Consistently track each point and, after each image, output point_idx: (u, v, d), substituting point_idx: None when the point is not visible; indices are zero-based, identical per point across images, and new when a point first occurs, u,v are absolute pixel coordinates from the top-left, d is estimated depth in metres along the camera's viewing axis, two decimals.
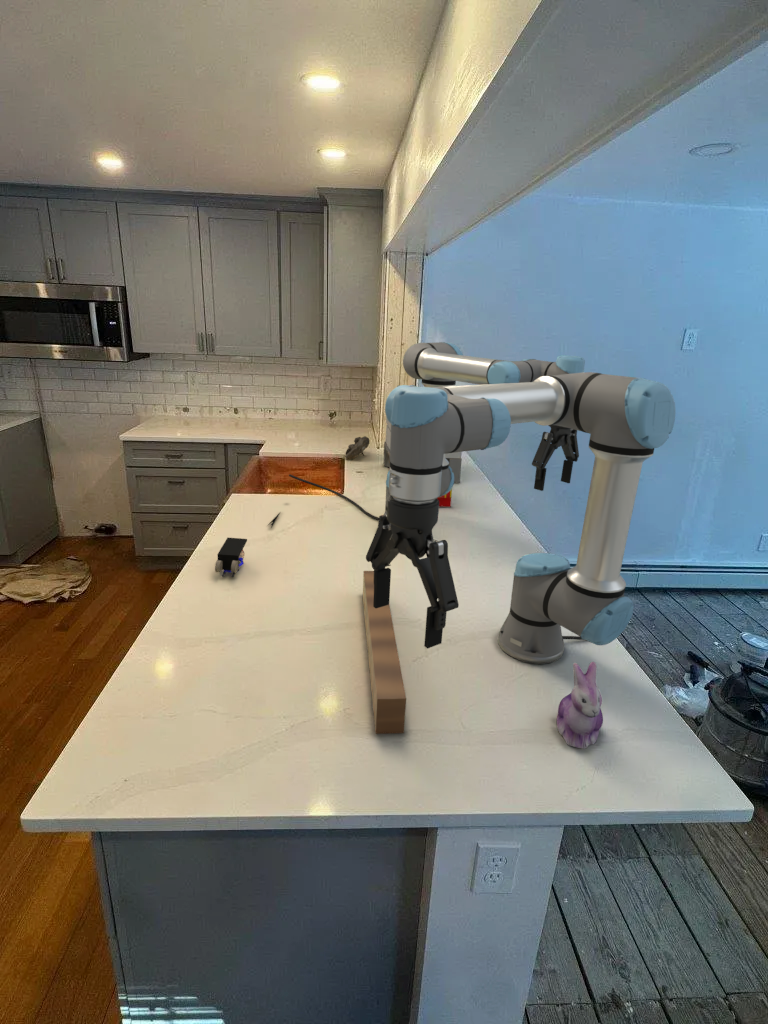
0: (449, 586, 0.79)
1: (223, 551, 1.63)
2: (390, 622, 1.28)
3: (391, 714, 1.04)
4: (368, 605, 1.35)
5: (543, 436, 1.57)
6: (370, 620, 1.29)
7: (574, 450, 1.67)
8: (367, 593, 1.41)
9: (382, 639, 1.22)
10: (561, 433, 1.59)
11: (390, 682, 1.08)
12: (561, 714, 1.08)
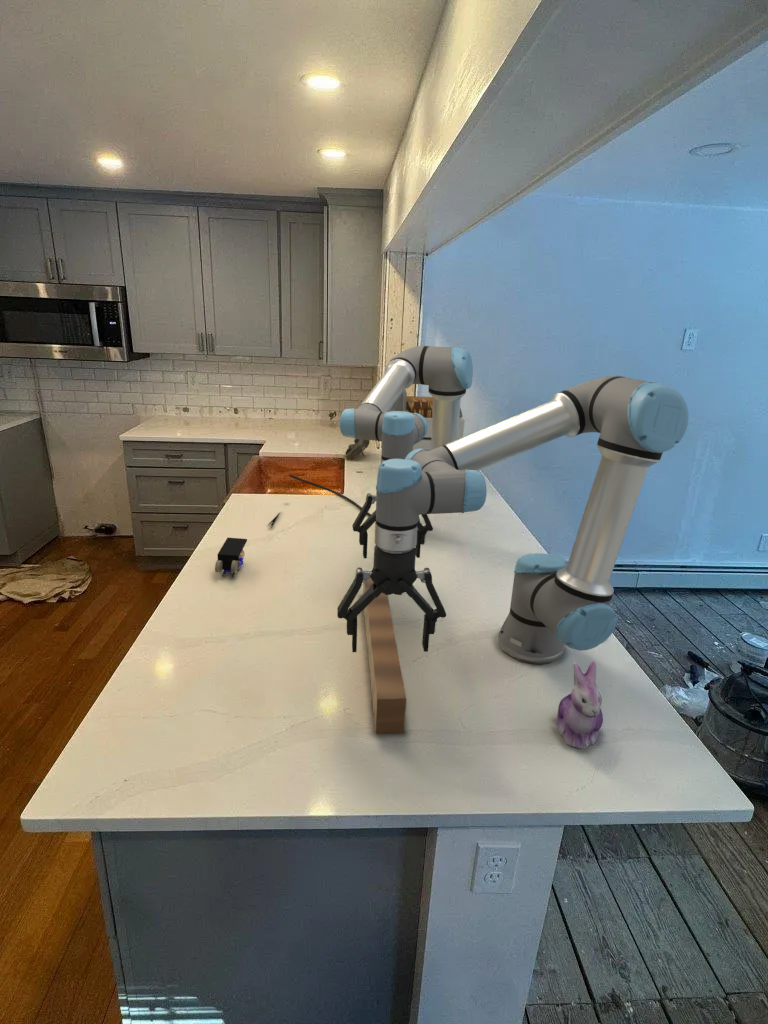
0: (439, 598, 1.06)
1: (223, 551, 1.63)
2: (390, 622, 1.28)
3: (391, 714, 1.04)
4: (368, 605, 1.35)
5: (366, 498, 1.40)
6: (370, 620, 1.29)
7: (424, 521, 1.42)
8: None
9: (382, 639, 1.22)
10: None
11: (390, 682, 1.08)
12: (561, 714, 1.08)
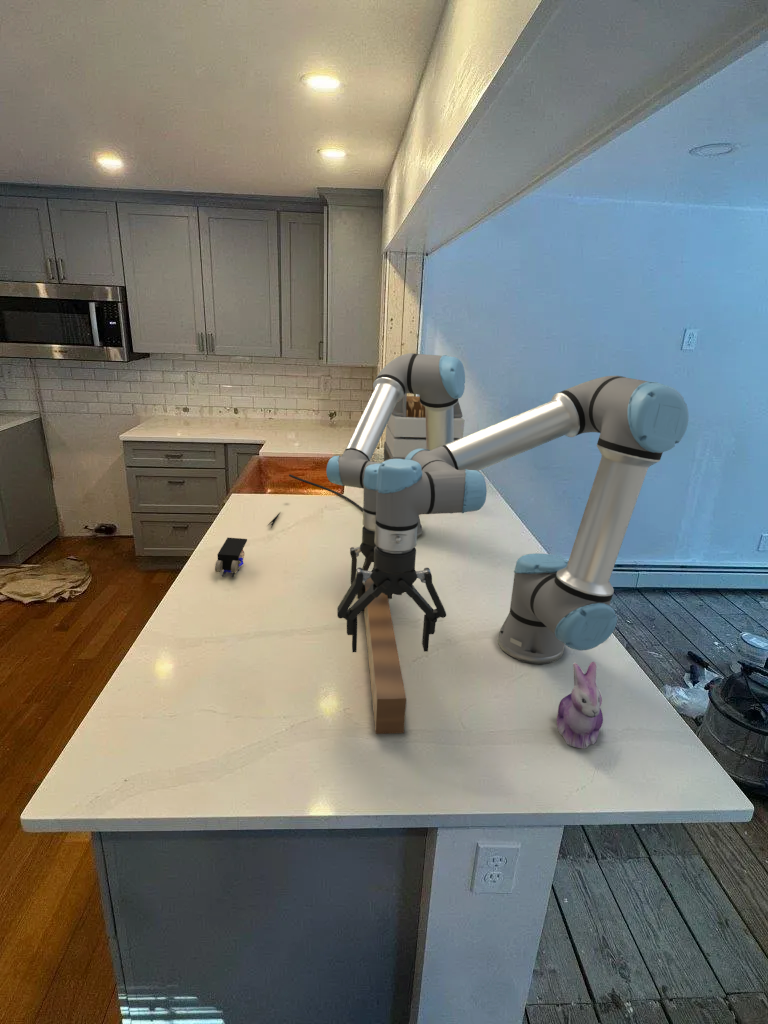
0: (439, 598, 1.06)
1: (223, 551, 1.63)
2: (390, 622, 1.28)
3: (391, 714, 1.04)
4: (368, 605, 1.35)
5: None
6: (370, 620, 1.29)
7: None
8: None
9: (382, 639, 1.22)
10: (372, 548, 1.41)
11: (390, 682, 1.08)
12: (561, 714, 1.08)
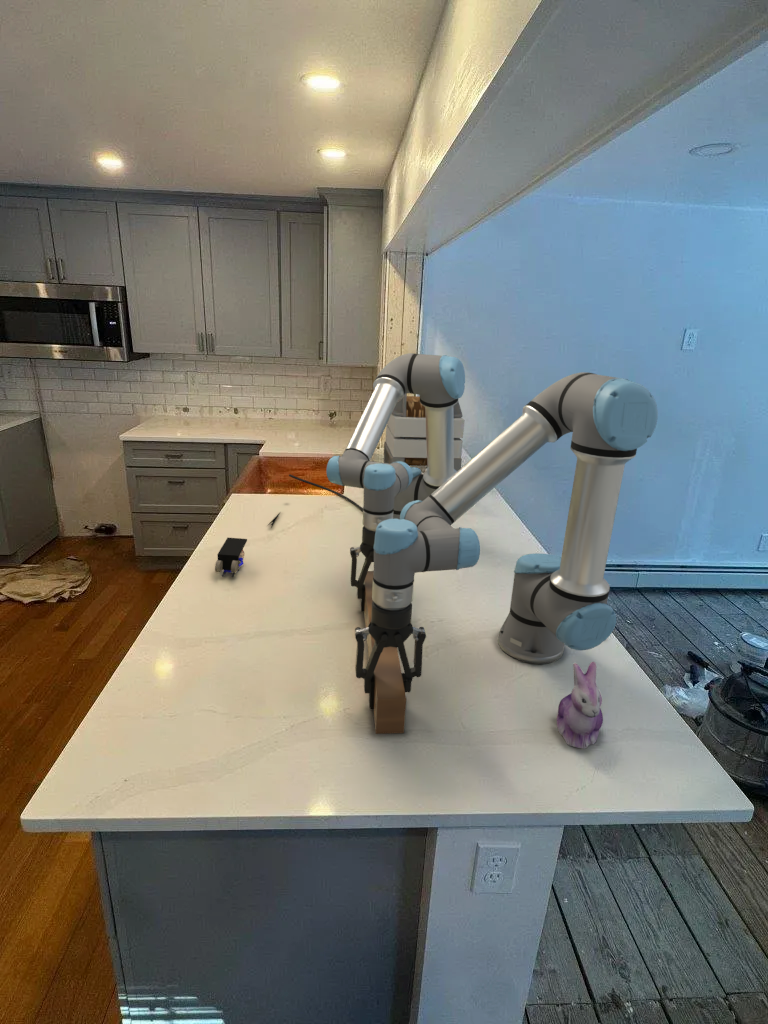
0: None
1: (223, 551, 1.63)
2: None
3: (391, 714, 1.04)
4: (368, 605, 1.35)
5: None
6: (370, 620, 1.29)
7: None
8: (367, 593, 1.41)
9: None
10: (372, 548, 1.41)
11: (390, 682, 1.08)
12: (561, 714, 1.08)
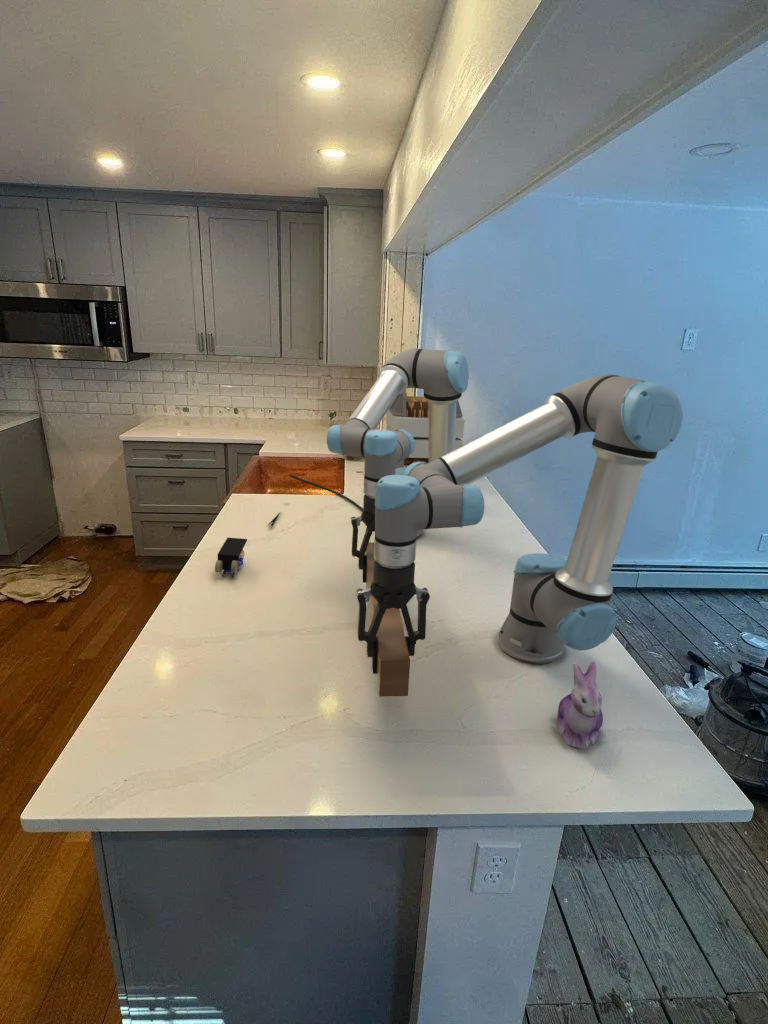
0: None
1: (223, 551, 1.63)
2: None
3: (395, 676, 1.02)
4: (370, 574, 1.33)
5: None
6: None
7: None
8: (369, 563, 1.38)
9: None
10: (373, 517, 1.39)
11: (393, 644, 1.05)
12: (561, 714, 1.08)
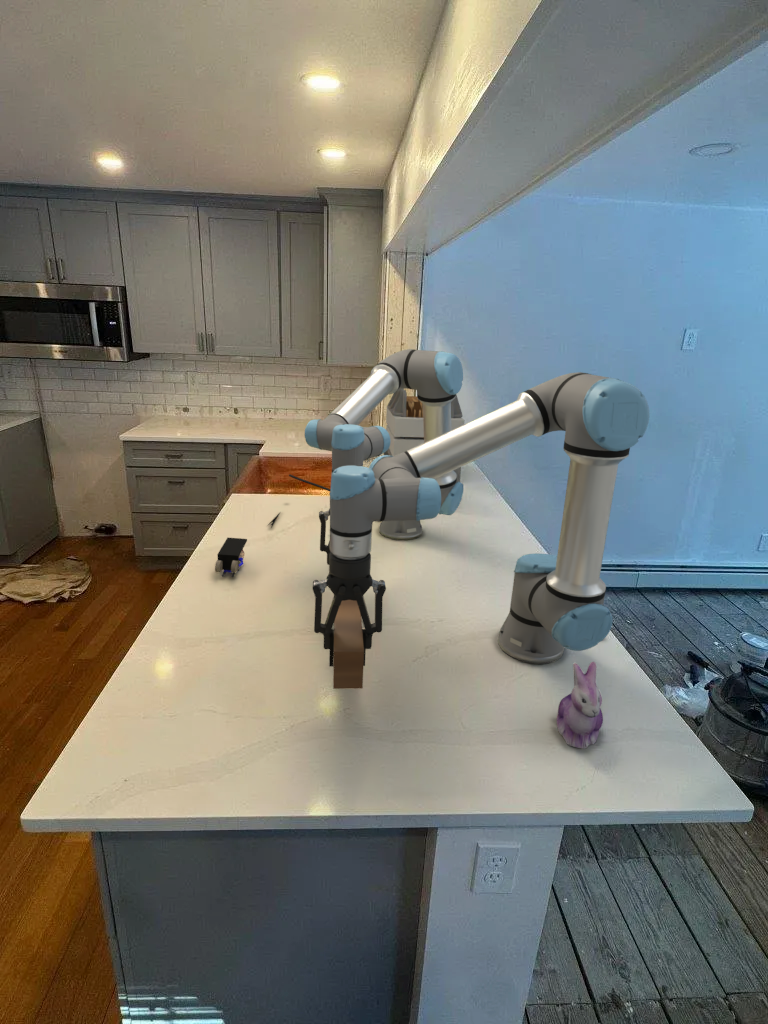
0: None
1: (223, 551, 1.63)
2: None
3: (349, 668, 1.01)
4: None
5: None
6: None
7: None
8: None
9: None
10: None
11: (349, 636, 1.05)
12: (561, 714, 1.08)
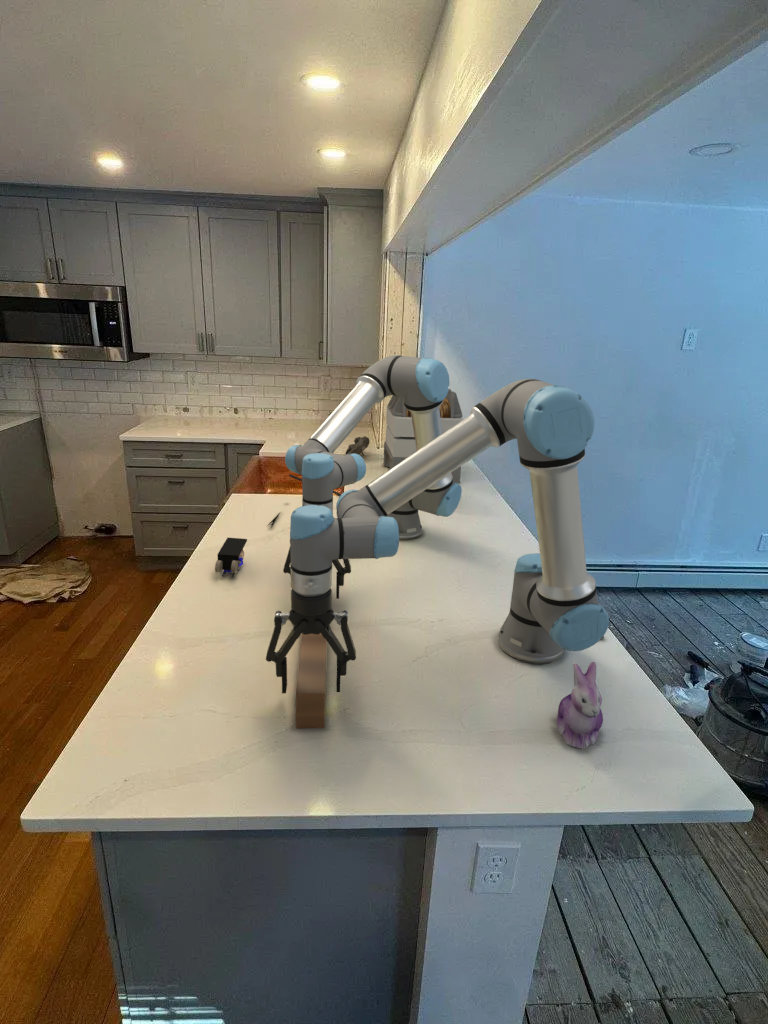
0: (352, 641, 1.10)
1: (223, 551, 1.63)
2: None
3: (311, 709, 1.05)
4: None
5: None
6: None
7: (344, 562, 1.45)
8: None
9: (314, 634, 1.22)
10: None
11: (312, 676, 1.08)
12: (561, 714, 1.08)
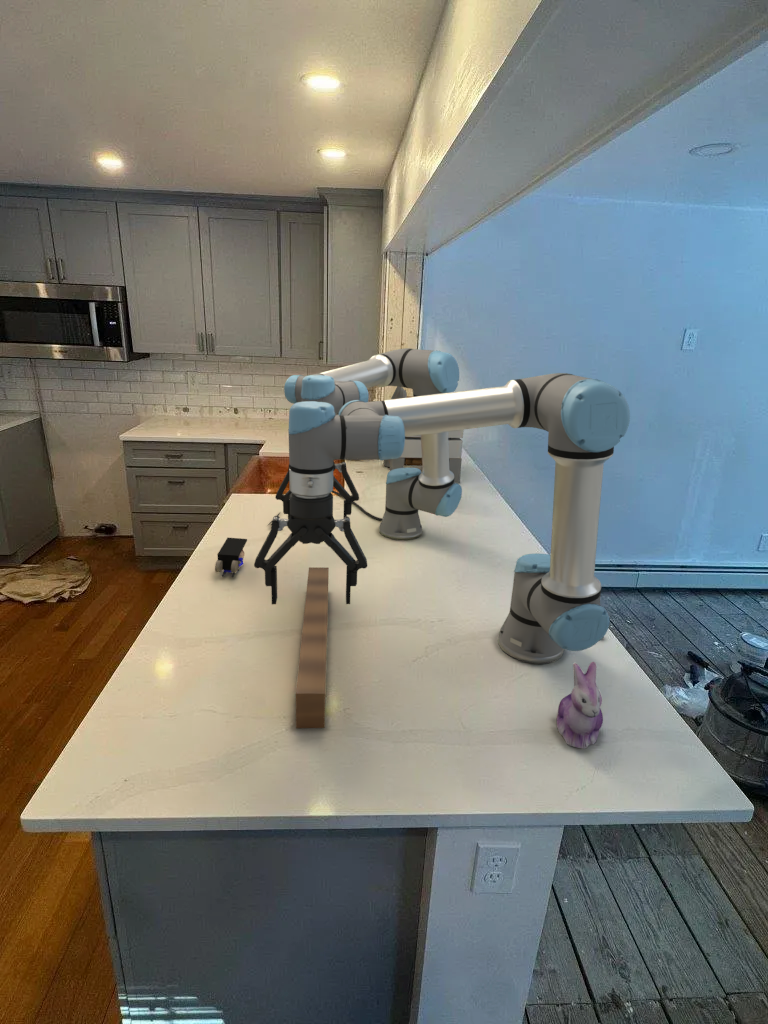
0: (360, 548, 1.03)
1: (223, 551, 1.63)
2: (325, 618, 1.29)
3: (311, 709, 1.05)
4: (306, 601, 1.36)
5: None
6: (305, 616, 1.29)
7: (350, 490, 1.38)
8: (308, 589, 1.41)
9: (314, 634, 1.22)
10: None
11: (312, 676, 1.08)
12: (561, 714, 1.08)
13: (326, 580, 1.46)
